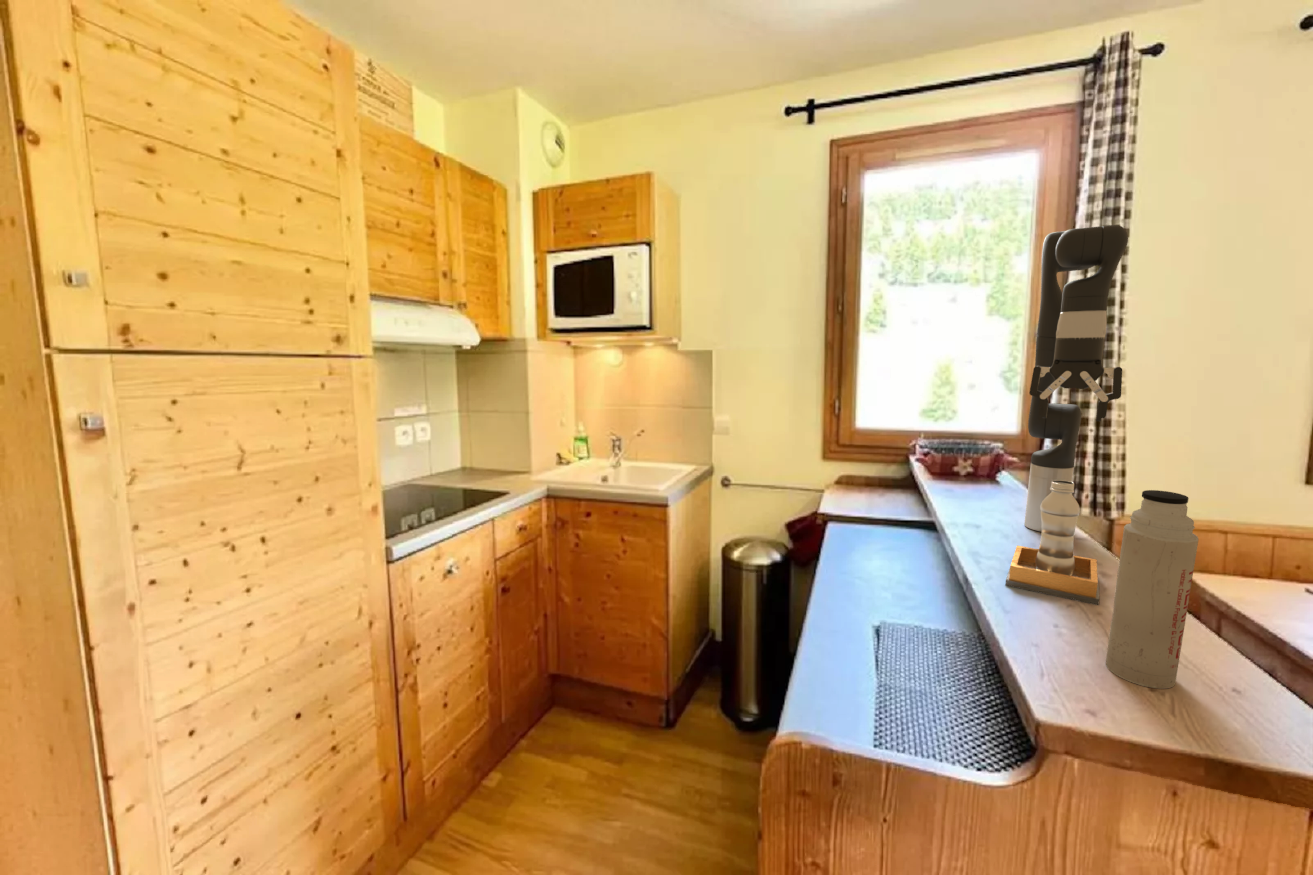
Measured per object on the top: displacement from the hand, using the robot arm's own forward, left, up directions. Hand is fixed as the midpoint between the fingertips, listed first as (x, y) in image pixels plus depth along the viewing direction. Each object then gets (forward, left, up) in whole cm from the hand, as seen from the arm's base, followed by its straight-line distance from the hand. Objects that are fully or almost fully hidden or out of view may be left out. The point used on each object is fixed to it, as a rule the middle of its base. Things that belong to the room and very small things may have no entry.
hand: (1070, 419), depth 109 cm
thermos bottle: (+31, +12, -34) cm, 48 cm away
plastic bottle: (0, 0, -33) cm, 33 cm away
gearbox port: (0, 0, -34) cm, 34 cm away
